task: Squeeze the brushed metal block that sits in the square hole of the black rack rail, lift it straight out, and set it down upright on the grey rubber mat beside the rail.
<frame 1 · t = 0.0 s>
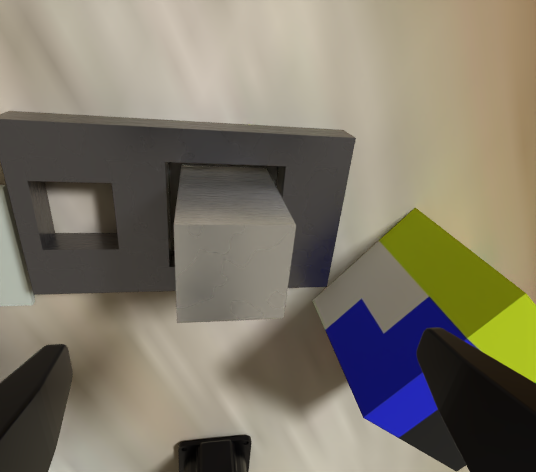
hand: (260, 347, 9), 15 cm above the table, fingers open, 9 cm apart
puzzle toy: (398, 288, 29), on the table
brushed metal block: (223, 204, 23), resting in rail
rail: (190, 204, 23), on the table
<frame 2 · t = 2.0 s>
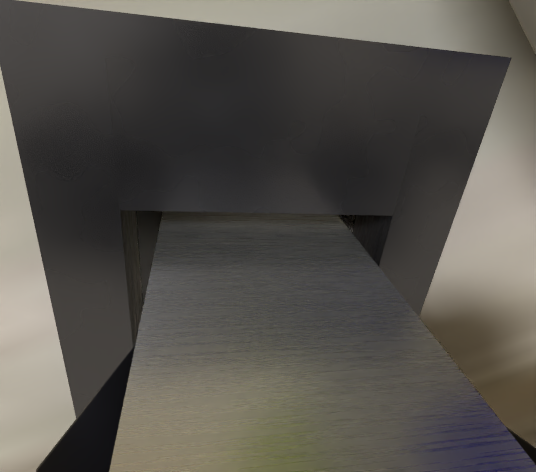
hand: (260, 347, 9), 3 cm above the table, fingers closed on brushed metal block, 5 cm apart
brushed metal block: (246, 279, 12), resting in rail, touching gripper
rail: (242, 327, 13), on the table
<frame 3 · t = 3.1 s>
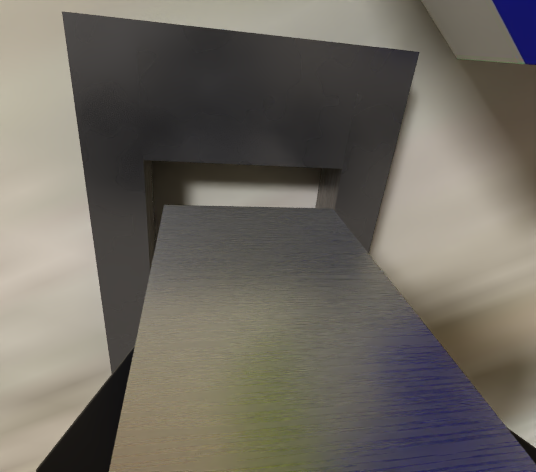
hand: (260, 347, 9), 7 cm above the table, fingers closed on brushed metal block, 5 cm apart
brushed metal block: (246, 277, 12), point 4 cm above the table, touching gripper
rail: (234, 268, 16), on the table
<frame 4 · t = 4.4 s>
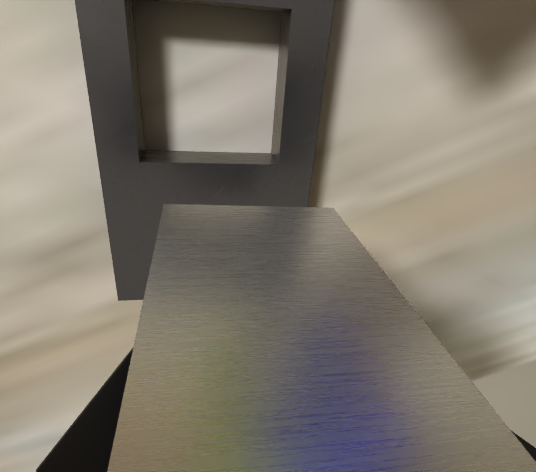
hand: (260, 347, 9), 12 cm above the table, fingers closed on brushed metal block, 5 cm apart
brushed metal block: (246, 277, 12), point 9 cm above the table, touching gripper
rail: (209, 127, 19), on the table
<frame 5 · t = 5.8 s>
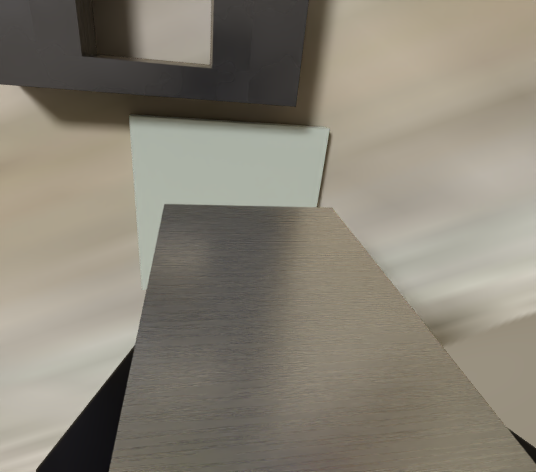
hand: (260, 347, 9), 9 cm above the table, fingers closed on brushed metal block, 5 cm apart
brushed metal block: (246, 276, 12), point 6 cm above the table, touching gripper
mat: (229, 210, 17), on the table
when the fingers open (5 cm above the table, at t = 6.8 s): brushed metal block drops 1 cm, resting on mat.
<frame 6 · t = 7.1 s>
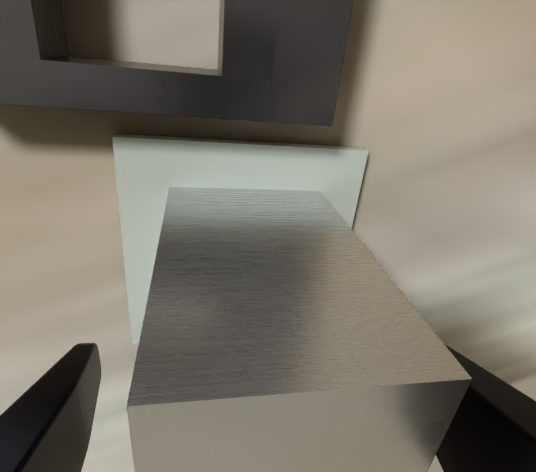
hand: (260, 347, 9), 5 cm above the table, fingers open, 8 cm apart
brushed metal block: (243, 254, 13), resting on mat
mat: (239, 249, 14), on the table
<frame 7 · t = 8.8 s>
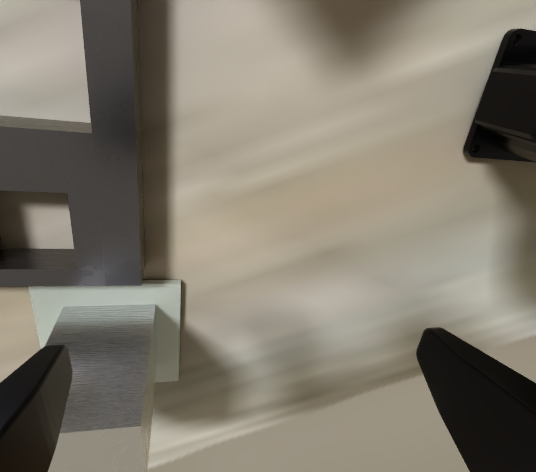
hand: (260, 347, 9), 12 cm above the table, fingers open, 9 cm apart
brushed metal block: (113, 338, 22), resting on mat
mat: (113, 334, 23), on the table
rail: (18, 87, 16), on the table
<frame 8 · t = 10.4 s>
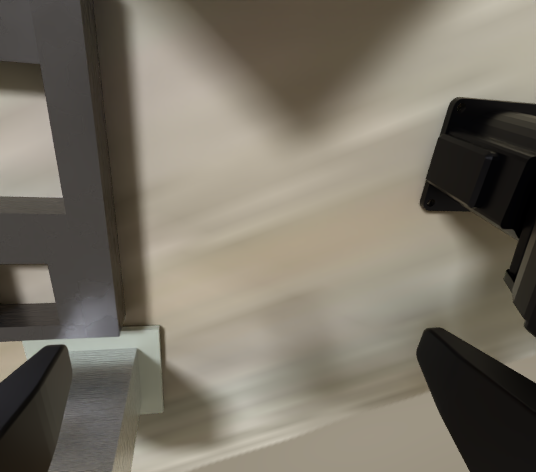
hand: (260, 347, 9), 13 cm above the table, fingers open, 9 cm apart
brushed metal block: (100, 377, 25), resting on mat
mat: (100, 373, 25), on the table
rail: (2, 172, 18), on the table
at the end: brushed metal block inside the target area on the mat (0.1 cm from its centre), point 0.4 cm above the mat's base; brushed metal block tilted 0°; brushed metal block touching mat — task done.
